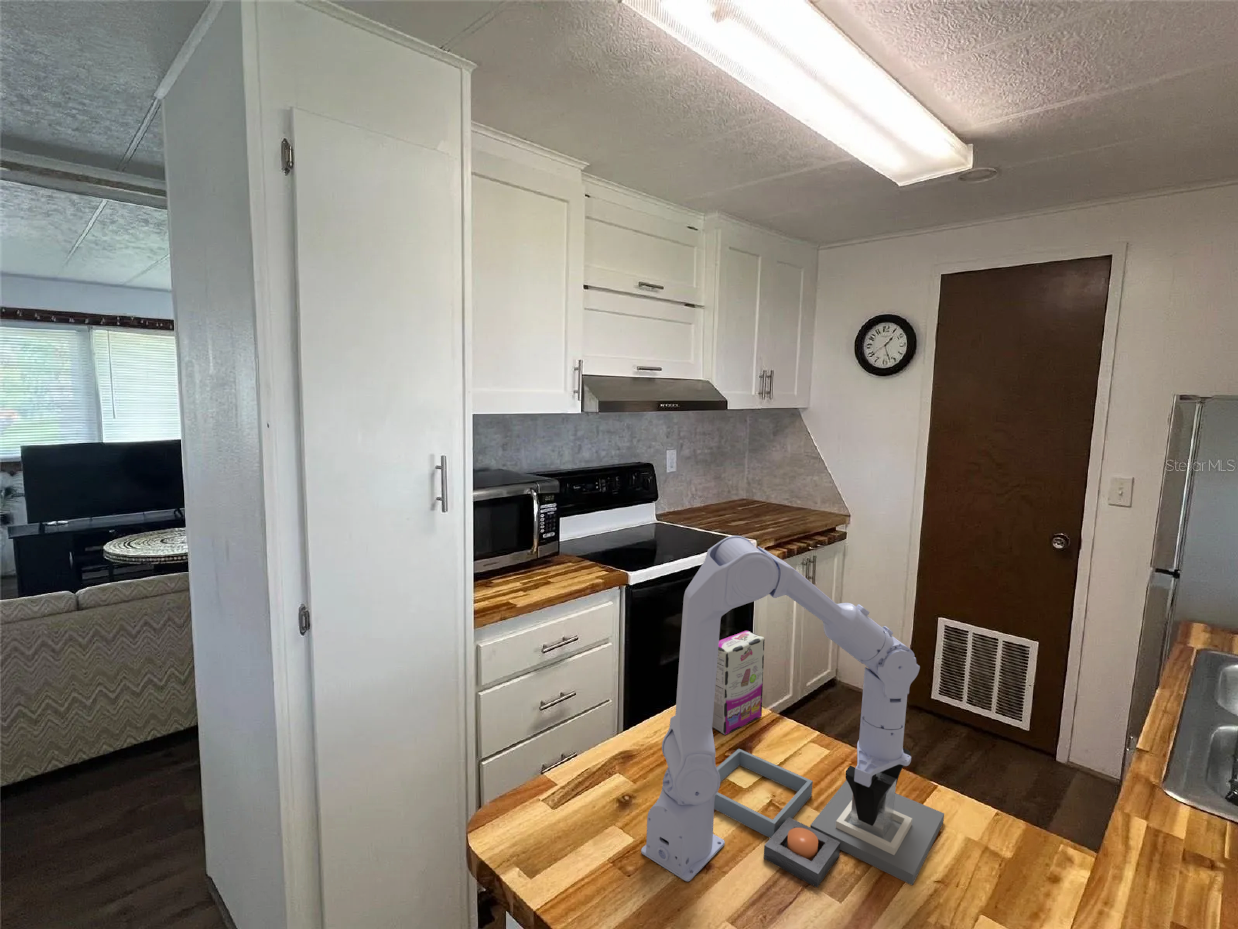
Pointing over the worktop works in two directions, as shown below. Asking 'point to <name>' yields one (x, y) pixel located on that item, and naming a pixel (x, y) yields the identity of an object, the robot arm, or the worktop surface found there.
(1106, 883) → the worktop surface
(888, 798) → the block
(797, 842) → the button
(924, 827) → the board
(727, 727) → the candy bar box
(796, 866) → the button collar
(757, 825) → the tote
